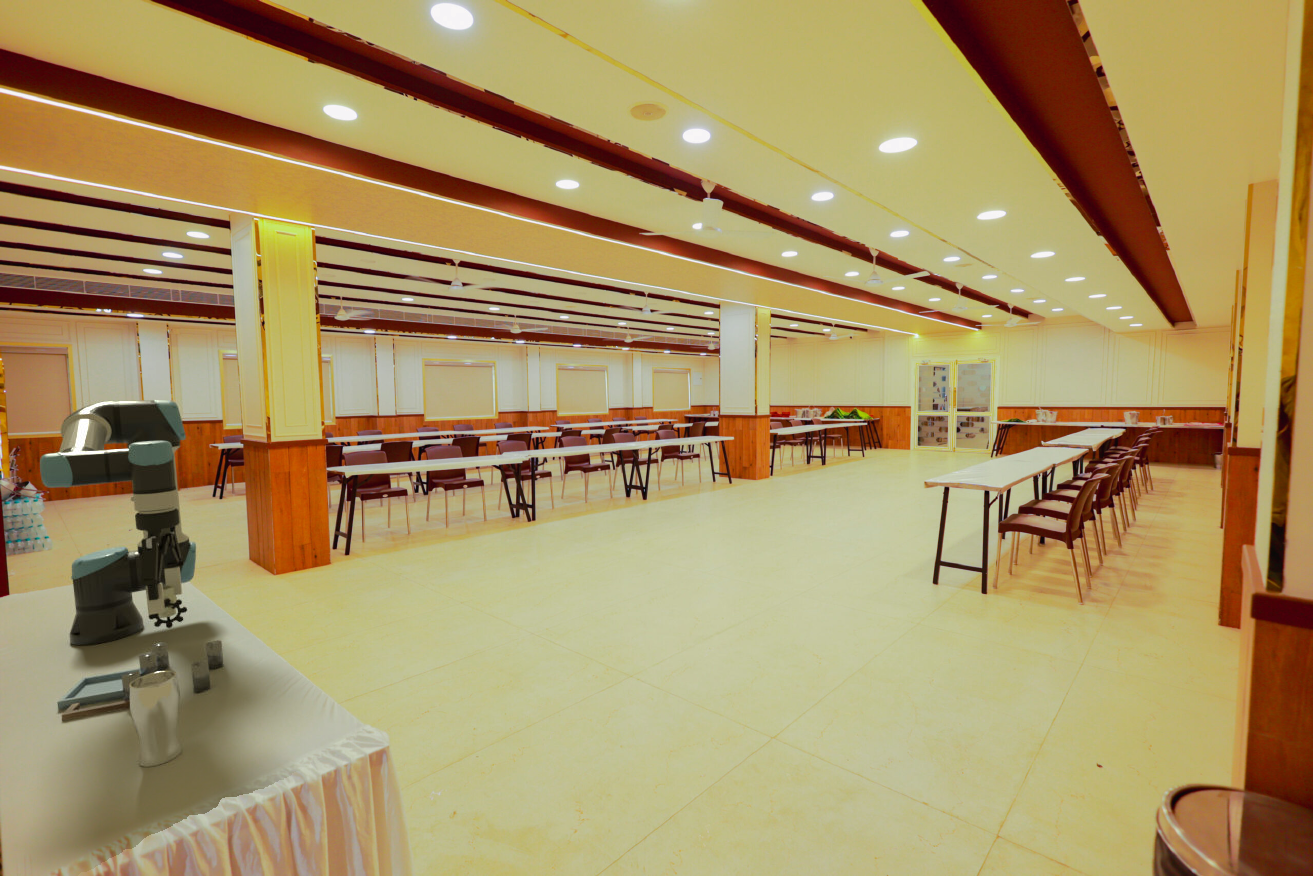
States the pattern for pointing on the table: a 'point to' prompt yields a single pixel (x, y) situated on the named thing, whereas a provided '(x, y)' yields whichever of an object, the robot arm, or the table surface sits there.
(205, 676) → the spacers
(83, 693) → the tray
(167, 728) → the beer glass
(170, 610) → the valve
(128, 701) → the hook tool
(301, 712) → the table surface
